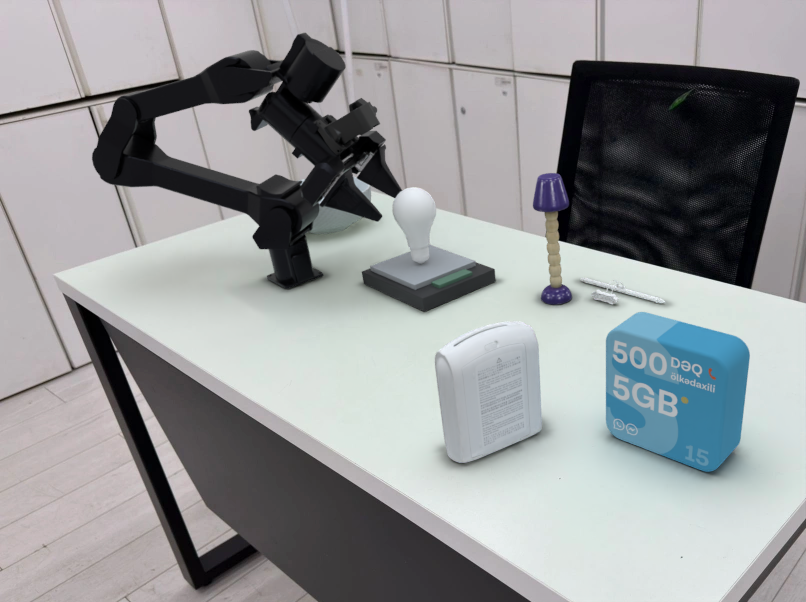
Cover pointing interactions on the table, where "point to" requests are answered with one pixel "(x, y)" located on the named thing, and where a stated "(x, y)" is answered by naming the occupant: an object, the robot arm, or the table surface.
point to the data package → (676, 389)
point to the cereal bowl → (337, 214)
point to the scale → (428, 278)
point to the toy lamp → (552, 233)
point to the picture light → (612, 297)
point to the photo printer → (489, 389)
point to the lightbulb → (415, 220)
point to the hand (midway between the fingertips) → (392, 208)
